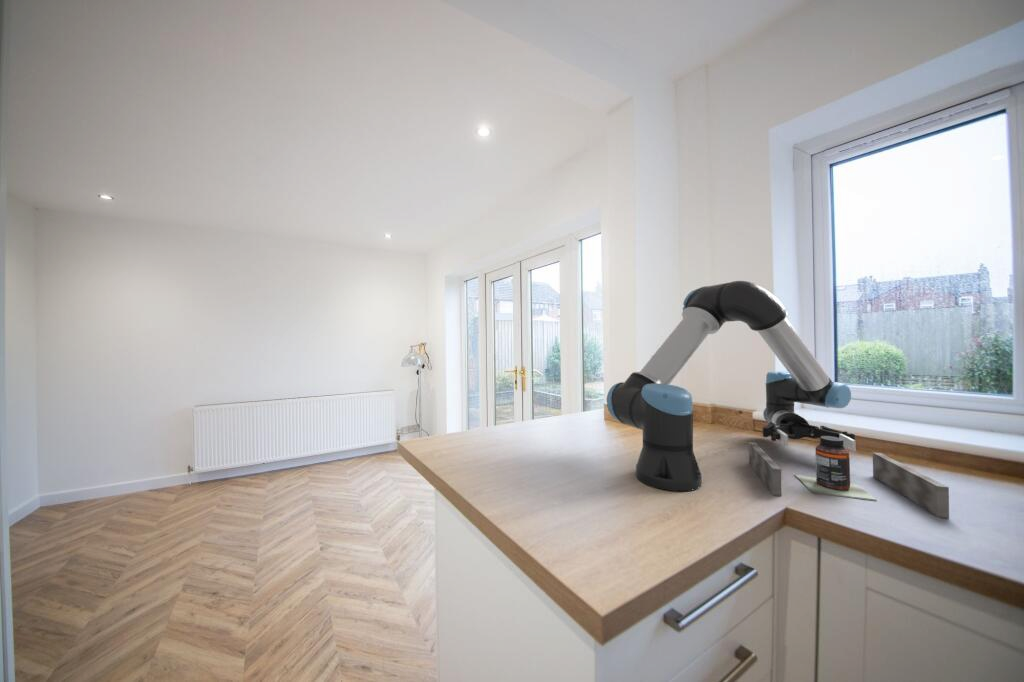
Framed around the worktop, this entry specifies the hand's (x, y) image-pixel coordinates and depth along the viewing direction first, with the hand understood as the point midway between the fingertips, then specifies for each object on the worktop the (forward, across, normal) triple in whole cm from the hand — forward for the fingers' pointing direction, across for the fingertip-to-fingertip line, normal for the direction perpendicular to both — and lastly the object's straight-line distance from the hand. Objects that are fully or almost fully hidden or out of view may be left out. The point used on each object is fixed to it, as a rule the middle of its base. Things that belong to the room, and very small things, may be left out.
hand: (819, 443), depth 89 cm
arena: (+7, 0, -8) cm, 11 cm away
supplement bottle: (+7, 0, -8) cm, 11 cm away
